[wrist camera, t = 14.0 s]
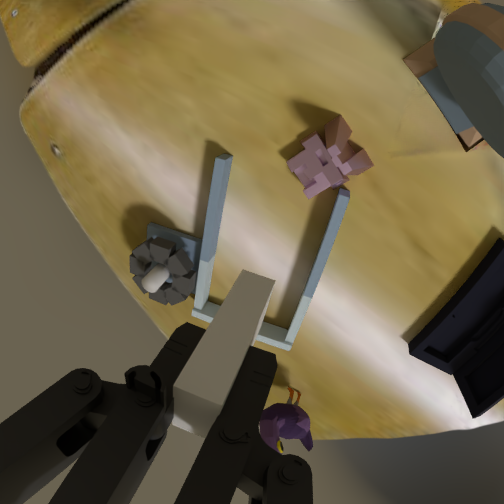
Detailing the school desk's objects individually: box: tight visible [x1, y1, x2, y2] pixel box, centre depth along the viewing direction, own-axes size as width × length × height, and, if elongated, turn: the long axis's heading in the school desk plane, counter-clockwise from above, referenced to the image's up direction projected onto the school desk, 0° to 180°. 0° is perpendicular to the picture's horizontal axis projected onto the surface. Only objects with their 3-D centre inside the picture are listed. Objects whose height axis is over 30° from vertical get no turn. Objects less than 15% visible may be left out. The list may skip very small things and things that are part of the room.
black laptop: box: [408, 238, 504, 418], centre depth 32 cm, size 21×16×10 cm
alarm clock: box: [403, 3, 504, 158], centre depth 17 cm, size 14×10×18 cm
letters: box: [286, 115, 374, 199], centre depth 31 cm, size 8×7×6 cm
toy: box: [259, 386, 313, 454], centre depth 47 cm, size 11×12×7 cm
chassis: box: [142, 154, 350, 351], centre depth 40 cm, size 24×25×8 cm
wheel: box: [130, 236, 196, 306], centre depth 43 cm, size 10×10×2 cm
